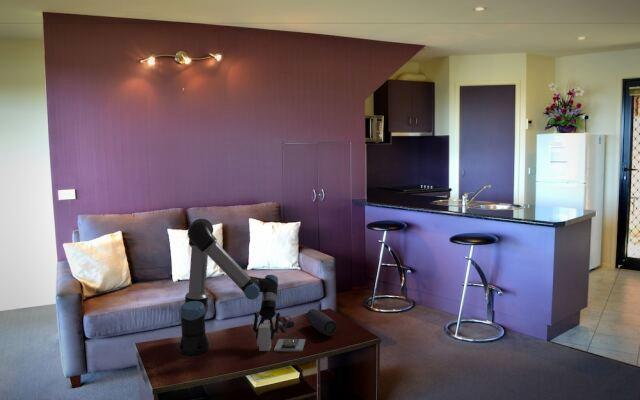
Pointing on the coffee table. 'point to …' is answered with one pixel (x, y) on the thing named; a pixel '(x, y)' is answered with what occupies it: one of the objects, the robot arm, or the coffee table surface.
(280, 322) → the walkie-talkie
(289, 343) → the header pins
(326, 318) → the bluetooth speaker
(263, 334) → the plug block
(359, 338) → the coffee table surface
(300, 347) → the board
